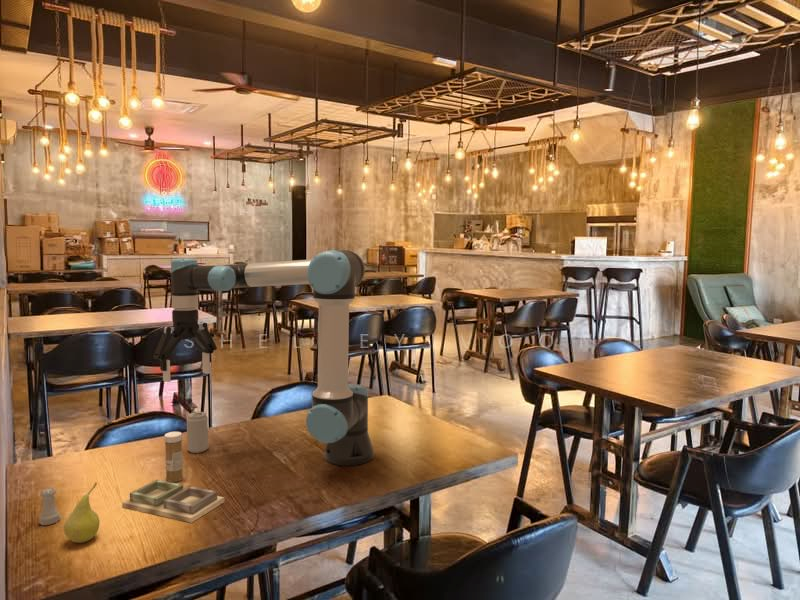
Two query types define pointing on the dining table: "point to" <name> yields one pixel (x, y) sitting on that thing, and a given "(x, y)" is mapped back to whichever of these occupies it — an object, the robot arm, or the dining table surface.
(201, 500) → the board
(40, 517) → the rook chess piece
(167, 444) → the sprinkles bottle
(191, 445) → the beverage can
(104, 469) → the dining table surface
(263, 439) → the dining table surface
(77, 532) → the fruit
